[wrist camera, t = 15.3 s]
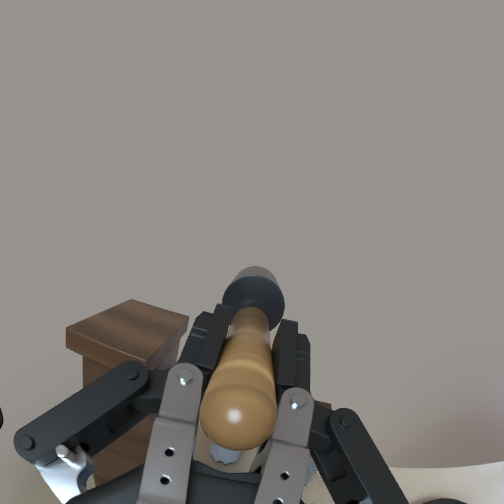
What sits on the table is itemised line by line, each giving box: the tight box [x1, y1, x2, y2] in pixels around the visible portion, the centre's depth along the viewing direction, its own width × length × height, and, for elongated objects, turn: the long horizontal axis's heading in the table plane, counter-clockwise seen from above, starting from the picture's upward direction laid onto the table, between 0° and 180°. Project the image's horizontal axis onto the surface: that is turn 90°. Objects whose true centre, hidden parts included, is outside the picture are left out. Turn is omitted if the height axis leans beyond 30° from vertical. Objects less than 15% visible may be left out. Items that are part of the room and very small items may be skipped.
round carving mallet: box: [199, 266, 285, 451], centre depth 17 cm, size 21×4×4 cm, turn 178°
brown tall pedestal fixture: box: [66, 299, 189, 487], centre depth 26 cm, size 14×10×32 cm
